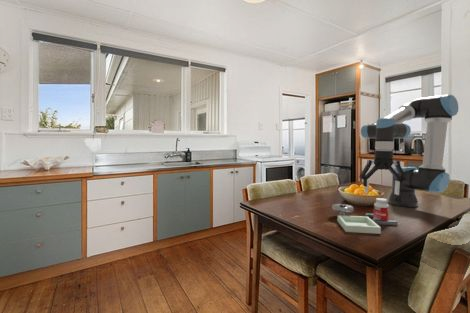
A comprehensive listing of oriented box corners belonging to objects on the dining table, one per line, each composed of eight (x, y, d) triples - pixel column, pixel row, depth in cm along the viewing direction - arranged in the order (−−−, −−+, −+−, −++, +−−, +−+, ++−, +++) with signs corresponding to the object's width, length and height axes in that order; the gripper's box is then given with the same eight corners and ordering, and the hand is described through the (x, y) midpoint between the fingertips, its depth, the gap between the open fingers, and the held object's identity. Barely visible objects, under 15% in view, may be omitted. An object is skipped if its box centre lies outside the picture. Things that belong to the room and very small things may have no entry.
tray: (367, 222, 115) (367, 216, 115) (380, 233, 101) (380, 227, 101) (337, 220, 117) (337, 215, 117) (345, 231, 103) (346, 225, 103)
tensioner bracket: (386, 217, 121) (386, 214, 121) (397, 225, 110) (397, 221, 110) (365, 216, 123) (365, 213, 123) (374, 224, 112) (374, 220, 112)
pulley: (349, 214, 126) (350, 202, 126) (356, 221, 117) (356, 208, 116) (329, 213, 128) (330, 202, 128) (334, 219, 118) (335, 207, 118)
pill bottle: (372, 221, 116) (373, 199, 115) (374, 218, 121) (375, 196, 120) (387, 224, 112) (388, 201, 111) (388, 220, 117) (390, 198, 116)
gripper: (408, 150, 116) (405, 193, 117) (353, 149, 120) (351, 190, 121) (417, 151, 108) (414, 196, 110) (359, 150, 112) (356, 194, 114)
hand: (381, 193), depth 115 cm, fingers open, 13 cm apart
